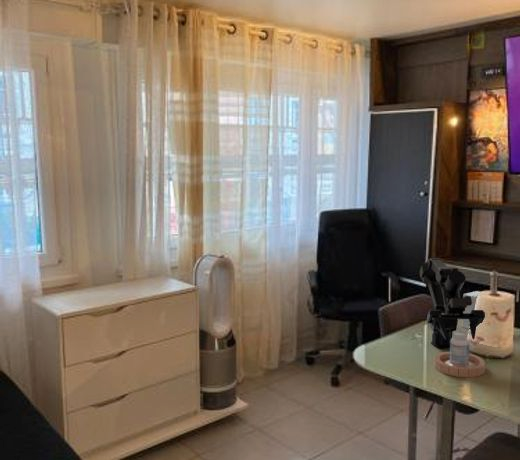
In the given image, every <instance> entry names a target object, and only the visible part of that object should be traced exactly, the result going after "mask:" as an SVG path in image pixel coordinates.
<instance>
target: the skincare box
mask: <svg viewBox="0 0 520 460" xmlns="http://www.w3.org/2000/svg"><path fill="white" fill-rule="evenodd" d="M480 292H481V291H478V290H475V291H472V292H467V293H463V297H462V298H464V297H465V296H471V299H472V305H470V306H467V308H466V307H465V311H463V313H471V311H472V310H474V307H475V302H476V298H477V295H478V293H480ZM469 324H470V322H469V319H462V325H461V327H463V328H465V329H468V330H469Z"/></svg>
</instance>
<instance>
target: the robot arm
mask: <svg viewBox="0 0 520 460" xmlns="http://www.w3.org/2000/svg"><path fill="white" fill-rule="evenodd" d="M420 266H421V267H420V269H419V277H420V278H421V281H422V283H423V284H424V285H426V287H428V289H429V293H430V296H431V297H430V298H431V300H432V304H433V307H434V308H433V309H429V311H428V312H427V316H426V322H427V323H428V324H429V325H430V326H429V327H430V329H431V331H432V332H433V333H432V334H431V336H432V337H431V342H430V343H431V344H432V345H433V346H435V347H436V348H437V349H450V341H451V339H452V338H453V331H457V327H458V322H459V320H463V319H469V322H470V324H469V326H470V335H471V339H472V340H475V339H476V332H477V330H476V327H477V326H478V325H479V324H480V323H482V322H483V320H484V318H485V312H484V311H483V310H472V311H471V313H463V311H465V307H466V308H467V306H470V305H472V299H471V296H465V297H464V298H463V297H461V295H460V291H461V290H462V288H463V286H464V284H465V281H466V275H465V274H464V273H463V272H462V271H460V270H459V268H458V267H453V266H451V267H450V266H448V265H446V264H445V262H443V259H442V258H439V257H436V258H435V257H433V258H428V260H427V262H425V263H423V264H421V265H420Z"/></svg>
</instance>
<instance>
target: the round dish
mask: <svg viewBox="0 0 520 460" xmlns="http://www.w3.org/2000/svg"><path fill="white" fill-rule="evenodd" d="M433 358H434V362H433V363H434V368H435V369H436V370H437V371H438V372H440V373H443V374H446V376H447V375H448V376H452V377H458V378H475V377H480V376H483V375H484V373H485V371H486V362H485V360H484V358H481V357H480V356H478V355H475V354H473V353H469V364H468V366H466V367H457V366H454V365H452V364H451V363H450V350H449V351H441V352H438V353H436V355H434V357H433Z"/></svg>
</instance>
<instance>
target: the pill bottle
mask: <svg viewBox="0 0 520 460" xmlns="http://www.w3.org/2000/svg"><path fill="white" fill-rule="evenodd" d="M467 338H468V333H467V331H464V330H456V331H452V339H451V341H450V348H449V351H450V363H451V364H452V365H454V366H457V367H466V366H468V364H469V354H470V341H469V339H467Z"/></svg>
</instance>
